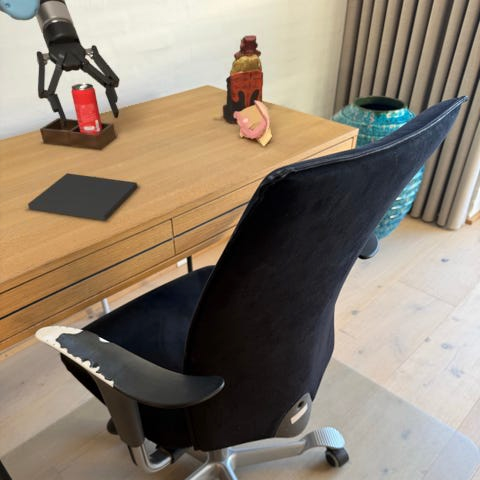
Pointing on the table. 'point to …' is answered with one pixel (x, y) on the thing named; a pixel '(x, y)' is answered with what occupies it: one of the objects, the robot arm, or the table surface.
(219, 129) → the table surface
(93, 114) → the beverage can
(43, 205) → the mat
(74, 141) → the divided desk organizer tray
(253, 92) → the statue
